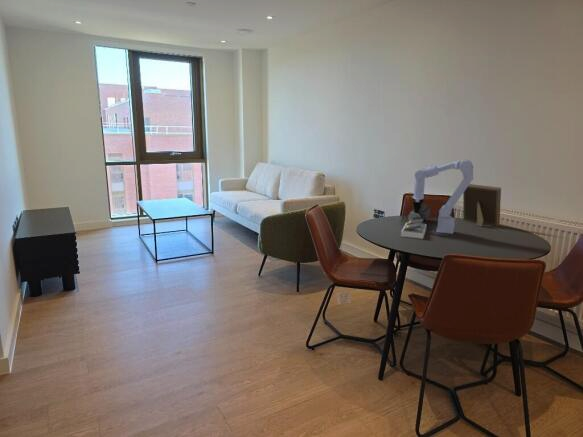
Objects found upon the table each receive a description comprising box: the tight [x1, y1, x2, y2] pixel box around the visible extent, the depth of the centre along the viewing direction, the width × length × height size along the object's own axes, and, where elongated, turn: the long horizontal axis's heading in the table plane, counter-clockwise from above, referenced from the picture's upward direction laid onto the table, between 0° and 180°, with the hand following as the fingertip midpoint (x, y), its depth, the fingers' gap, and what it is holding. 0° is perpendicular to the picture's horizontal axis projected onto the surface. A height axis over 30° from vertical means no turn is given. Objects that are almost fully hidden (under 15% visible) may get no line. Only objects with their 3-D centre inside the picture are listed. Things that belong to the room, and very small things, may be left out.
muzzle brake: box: [407, 204, 431, 222], centre depth 258 cm, size 10×28×10 cm, turn 151°
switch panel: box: [400, 221, 427, 240], centre depth 233 cm, size 12×24×4 cm, turn 158°
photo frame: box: [462, 183, 502, 228], centre depth 256 cm, size 15×22×25 cm
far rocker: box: [407, 219, 424, 225], centre depth 237 cm, size 8×9×2 cm
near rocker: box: [405, 222, 421, 230], centre depth 227 cm, size 8×9×2 cm
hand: (417, 211), depth 242 cm, fingers open, 7 cm apart
